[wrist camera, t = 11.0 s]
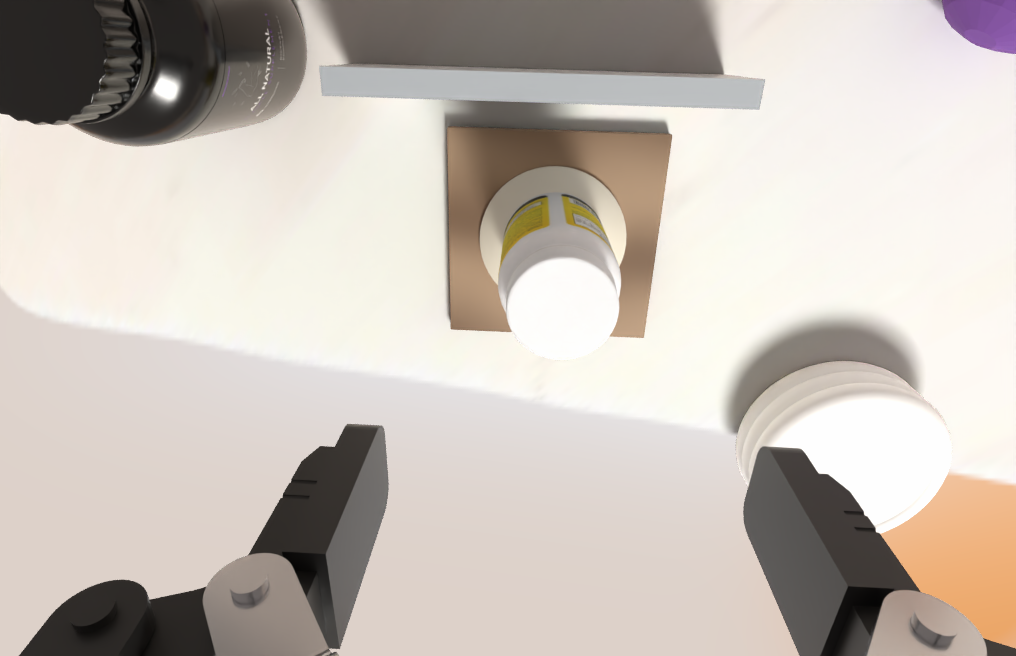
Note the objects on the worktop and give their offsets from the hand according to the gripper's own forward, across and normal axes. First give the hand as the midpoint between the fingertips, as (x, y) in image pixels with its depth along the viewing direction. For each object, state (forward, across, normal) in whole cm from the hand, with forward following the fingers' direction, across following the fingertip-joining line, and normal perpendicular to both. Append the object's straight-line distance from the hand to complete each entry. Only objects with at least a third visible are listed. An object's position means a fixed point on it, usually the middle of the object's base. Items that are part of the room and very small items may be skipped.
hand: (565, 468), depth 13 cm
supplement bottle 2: (+17, 0, 0) cm, 17 cm away
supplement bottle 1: (+18, +14, -8) cm, 24 cm away
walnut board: (+18, 0, 0) cm, 18 cm away
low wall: (+18, +1, -7) cm, 19 cm away
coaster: (+18, -16, +11) cm, 27 cm away
